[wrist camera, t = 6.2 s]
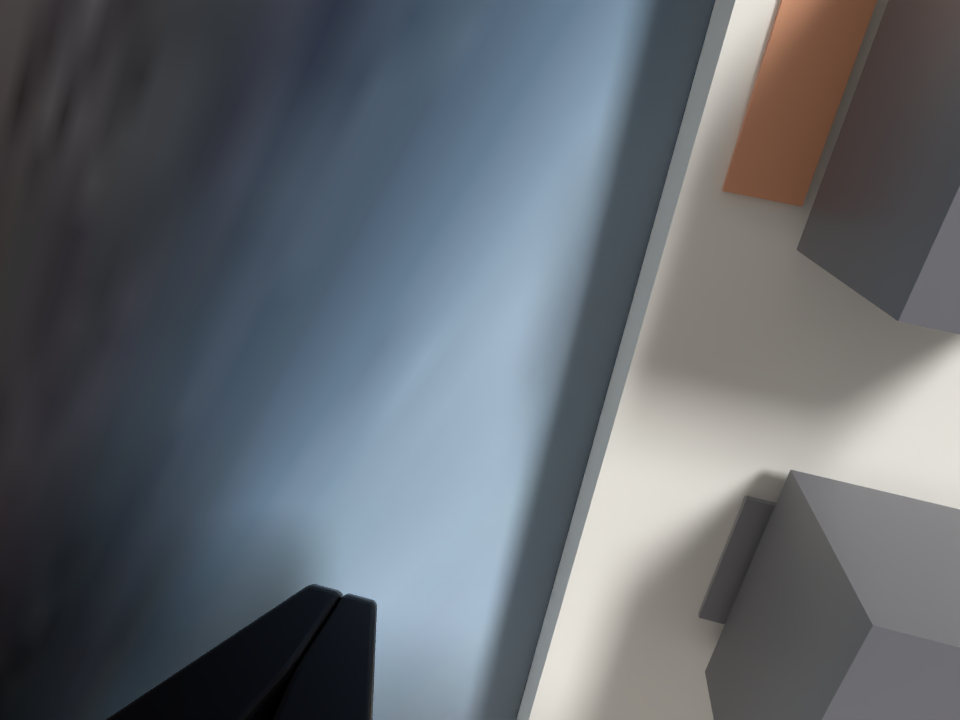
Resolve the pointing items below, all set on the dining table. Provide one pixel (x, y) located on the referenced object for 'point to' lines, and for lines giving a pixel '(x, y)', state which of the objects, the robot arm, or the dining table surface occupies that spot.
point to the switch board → (735, 377)
